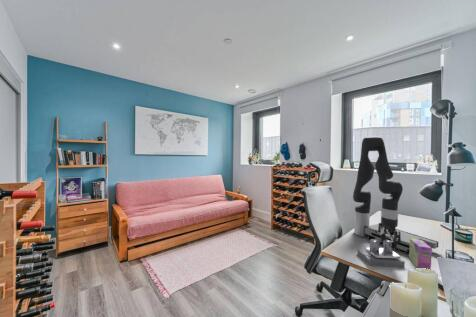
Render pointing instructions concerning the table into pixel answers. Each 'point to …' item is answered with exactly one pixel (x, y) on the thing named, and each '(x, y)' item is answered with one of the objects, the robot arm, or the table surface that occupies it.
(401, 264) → the scale base
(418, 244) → the box
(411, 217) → the table surface
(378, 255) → the scale pan
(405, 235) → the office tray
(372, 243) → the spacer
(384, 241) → the spacer
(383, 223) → the robot arm
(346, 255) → the table surface
